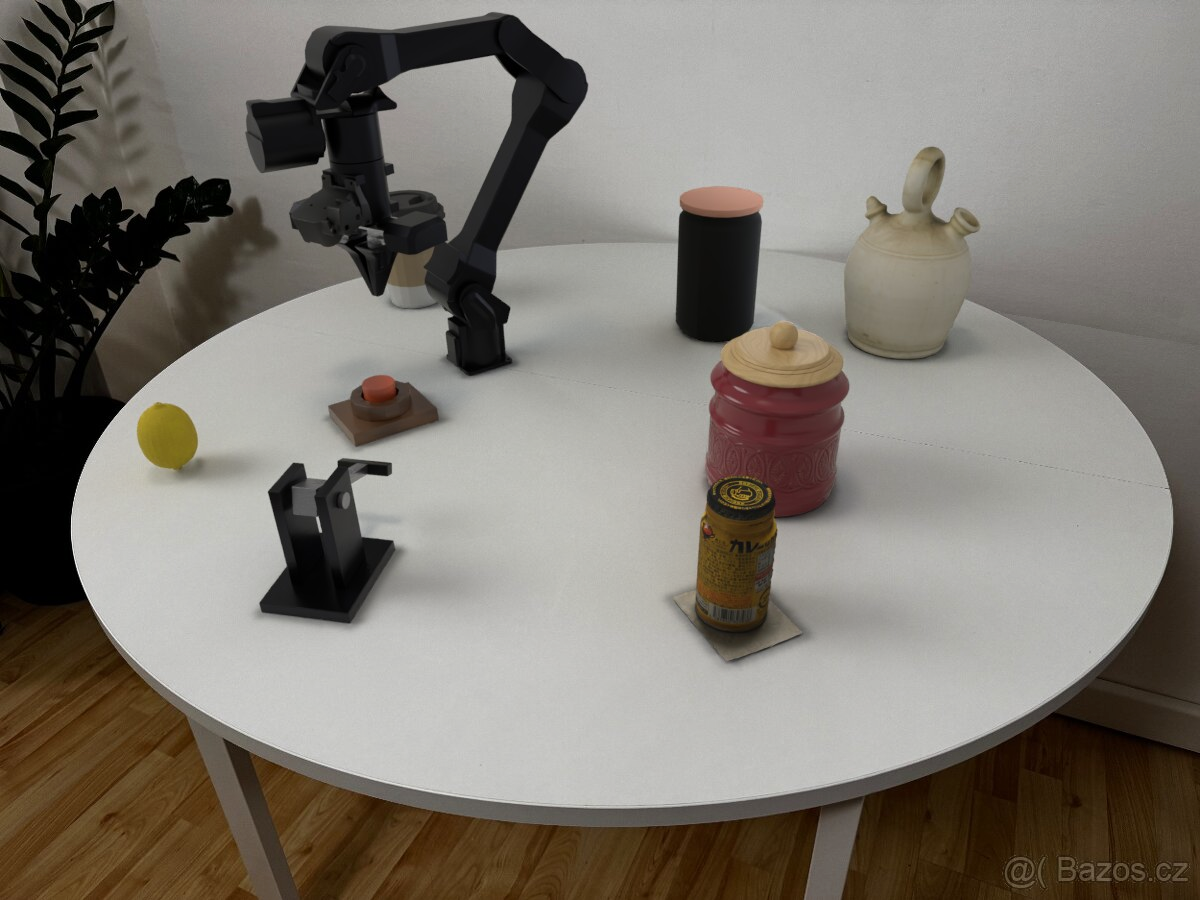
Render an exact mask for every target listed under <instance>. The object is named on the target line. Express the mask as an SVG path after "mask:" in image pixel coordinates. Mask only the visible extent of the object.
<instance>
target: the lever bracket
mask: <svg viewBox="0 0 1200 900" xmlns="http://www.w3.org/2000/svg"><path fill="white" fill-rule="evenodd" d="M306 471H307V470H306V468H305V464H304V463H302V462H292V463H291V464H290V466H288V468H287V469H286V470H285V471H284V472H283V474H282V475H280V477H279V478H278V479H277V480H276V481H275V482H274V484H273V485H272V486H271V487H270V488H269V489H268V490H267V494H268V495H267V496H268V499H269V502H270V507H271V510H272V514H273V518H274V521H275V526H276V530H277V533H278V537H279V541H280V546H281V549H282V552H283V557H284V560H285V564H286V566H285V568H284V569H283V570H282V571H281V573H280V575H278V577H277V578H276V580H275V581H274V582H273V584H271V586H270V588H269V589H268V590H267V591H266V593H265V594H264V596H263V597H262V598H261V599H260V601H259V608H260V611H261V613H265V614H273V615H280V616H287V617H288V616H289V617H297V618H304V619H312V620H319V621H328V622H335V623H343V624H351V623H352V621H353V619H354V618H355V616H356V614H357V613H358V611H359V609H360V608H361V607H362V605H363V603H364V601H365V600H366V598H367V596H368V595H369V593H370V592H371V591H372V588H373V586H374V585H375V584H376V582H377V580H378V579H379V577H380V575H381V573H382V572H383V570H384V569H385V567H386V565H387V564H388V562H389V560H391V557H392V556H393V554H394V553H395V550H396V547H395V541H394V540H393V539H383V538H377V537H376V538H375V537H368V536H367V537H365V536H362V531H361V525H360V522H359V521H360V520H359V516H358V510H357V506H356V501H355V496H354V491H353V486H352V484H351V480H350V475H349V470H348V468H345V467H338V466H336V468H335V469H334V471H333V472H332V473H331V474H330V475H329V477H328V478H327V479H326V480H327V481H326V482H325V483H324V484H323V486H322V487H321V488H320V489H319V491H318V492H317V493H316V494H315V496H314V499H315V503H316V508H317V512H318V519H317V517H312V516H303V515H294V514H293V507H292V486H294V485H296V484H298V483H300V482H302V481H304V480H306V479H308V477H307V472H306ZM318 520H319V524H318ZM319 525H320V529H321V531H320V529H319Z"/></svg>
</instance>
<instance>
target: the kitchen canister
mask: <svg viewBox="0 0 1200 900" xmlns="http://www.w3.org/2000/svg"><path fill="white" fill-rule="evenodd" d="M843 368H844V357H843V356H842V354H841V352H840V351H839V350H838V349H837V348H836V347H835V346H833V344H830V343H828V342H827V341H825V339H823V338H822V337H821V336H819V335H818V334H815V333H813V332H810V331H807V330H804V329H800V328H797V326H796V325H795V324H794V323H793V322H792V321H789V320H779V321H777V322H775V323H774V324H773V325H772V326H766V327H760V328H754V329H750V330H749V331H748V332H747V333H745V334H743V335H742V336H739V337H737V338H735V339H733V340H731V341H729V342H726V344H725V345H724V346H723V347H722V349H721V351H720V361H718V362H717V363H716V364H715V365H714V366H713V368H712V370H711V372H710V377H709V378H710V380H709V381H710V384H711V387H712V388H713V390H714V394H713V396H712V397H711V399H710V401H709V404H708V412H709V426H708V431H709V432H708V444H707V445H708V446H707V447H708V448H707V452H706V455H705V466H704V467H705V469H704V470H705V474H706V477H707V483H708V487H709V488H710V487H711V486H712V484H713V483H715V482H716V481H717V480H718V479H722V478H726V477H729V476H746V477H751V478H755V479H757V480H760V481H762V482H763V483H765V484H766V485H768V486H769V487H770V488H771V489H772V490H773V492H774V496H775V499H776V503H775V506H774V511H775V515H774V517H792V516H796V515H801V514H804V513H807V512H811V511H812V510H815V509H816V508H818V507H821V505H823V504H824V503H825V502H826V501H827V500H828V498H829V497H830V495H831V492H832V489H833V487H834V486H835V483H836V478H837V477H836V476H837V473H838V467H837V459H838V453H839V447H840V446H839V445H840V440H841V433H842V427H843V425H844V422H845V418H846V417H845V416H846V415H845V410H844V408H843V406H842V402H843V401H844V400H845V399H846V398H847V396H848V394H849V392H850V380H849V378H848V377H847V375H846V373H845V372H844V371H843Z"/></svg>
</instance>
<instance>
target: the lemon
mask: <svg viewBox="0 0 1200 900" xmlns="http://www.w3.org/2000/svg"><path fill="white" fill-rule="evenodd" d="M136 425H137V426H136V439H137V443H138V446H139V448H140V450H141V452H142V454H143V455H144V457H145V458H146V459H147V460H148V461H149V462H150V463H151V464H153V465H154V466H157V467H159V468H162V469H169V470H170V469H172V470H174V471H179V470H181V469H182V468H183V467H184V466H185V465H186V464H189V462H190V461H192V459H193V458H194V456H195V455H196V453H197V450H198V444H199V436H198V432H197V429H196V426H195V423H194V422H193V420H192V419H191V417H190V415H189V414H188V413H187V412H186V411H185V410H184V409H183V408H182V407H180V406H178V405H176V404H172V403H167V402H160V401H157V402H154V403H153V404H152V405H151V406H149V407H148V408H146V409H145V410H144V411H143V412H142V413H141V415H140V416H139V418H138V420H137V424H136Z"/></svg>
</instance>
